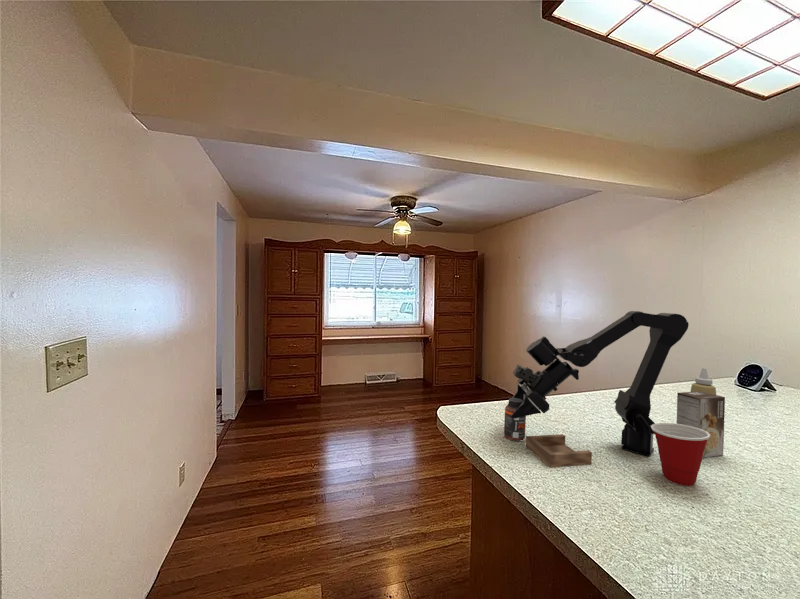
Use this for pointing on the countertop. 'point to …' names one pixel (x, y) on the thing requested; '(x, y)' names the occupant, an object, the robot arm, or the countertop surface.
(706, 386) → the squeeze bottle
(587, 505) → the countertop surface
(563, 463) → the tray
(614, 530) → the countertop surface
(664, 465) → the plastic cup
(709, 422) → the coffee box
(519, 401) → the supplement bottle
